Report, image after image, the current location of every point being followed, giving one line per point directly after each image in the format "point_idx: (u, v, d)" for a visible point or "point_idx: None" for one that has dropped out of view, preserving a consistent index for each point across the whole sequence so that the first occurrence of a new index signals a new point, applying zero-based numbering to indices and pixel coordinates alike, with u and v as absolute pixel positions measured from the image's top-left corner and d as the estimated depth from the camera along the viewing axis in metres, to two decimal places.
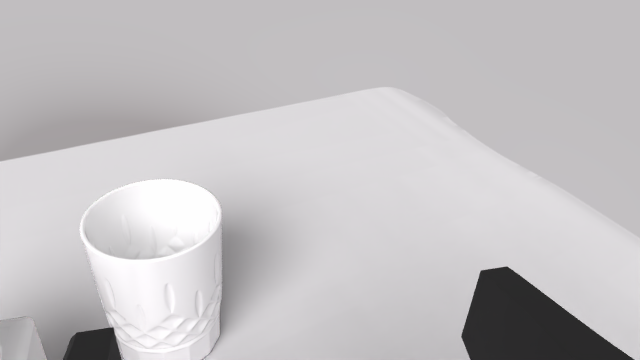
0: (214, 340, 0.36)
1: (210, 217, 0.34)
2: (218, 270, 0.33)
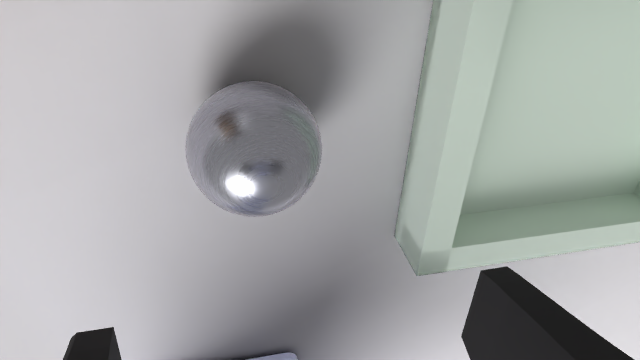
0: None
1: None
2: None
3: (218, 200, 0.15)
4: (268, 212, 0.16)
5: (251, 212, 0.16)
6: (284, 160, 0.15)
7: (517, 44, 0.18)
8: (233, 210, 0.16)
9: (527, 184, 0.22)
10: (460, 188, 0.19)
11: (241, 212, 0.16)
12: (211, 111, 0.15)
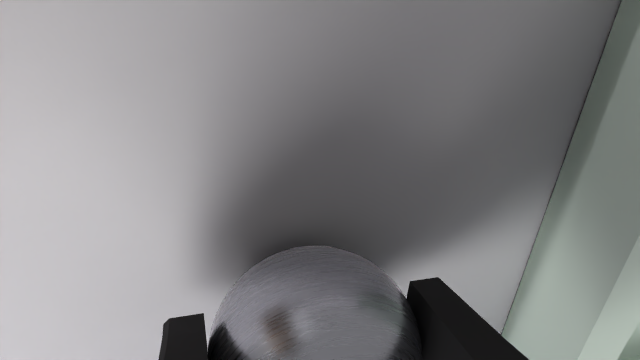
0: None
1: None
2: None
3: None
4: None
5: None
6: None
7: None
8: None
9: None
10: None
11: None
12: (253, 321, 0.09)
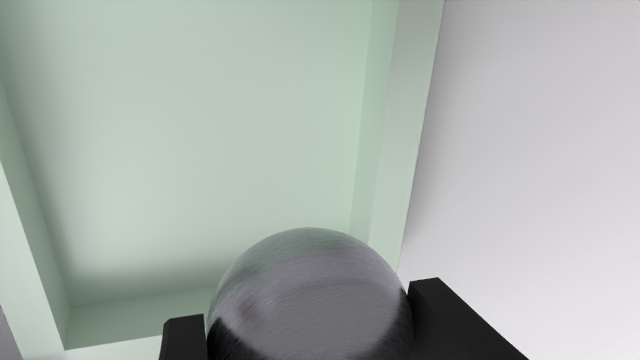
0: None
1: None
2: None
3: None
4: None
5: None
6: None
7: (87, 114, 0.15)
8: None
9: (189, 265, 0.19)
10: (34, 288, 0.15)
11: None
12: (256, 298, 0.09)
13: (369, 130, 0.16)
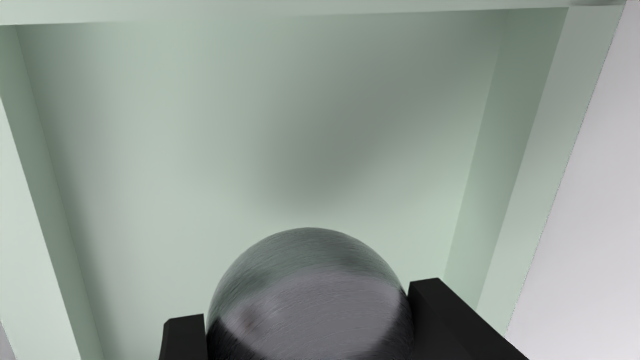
0: None
1: None
2: None
3: None
4: None
5: None
6: None
7: (151, 195, 0.12)
8: None
9: None
10: None
11: None
12: (255, 299, 0.09)
13: (480, 205, 0.14)
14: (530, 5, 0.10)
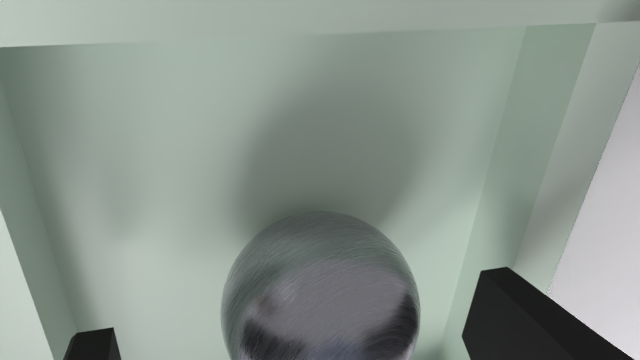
0: None
1: None
2: None
3: None
4: None
5: None
6: (398, 341, 0.10)
7: (143, 222, 0.11)
8: None
9: None
10: None
11: None
12: (278, 282, 0.10)
13: (494, 229, 0.13)
14: (554, 21, 0.09)
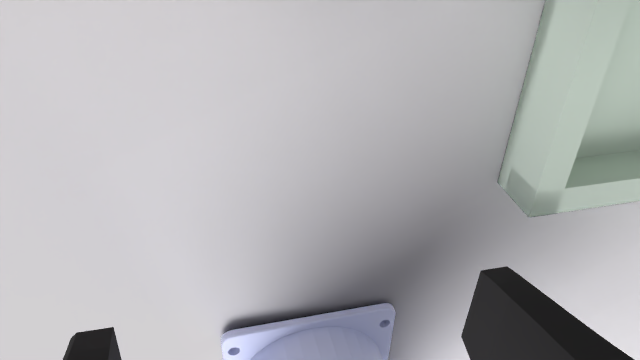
0: None
1: None
2: None
3: None
4: None
5: None
6: None
7: None
8: None
9: (631, 128, 0.22)
10: (581, 125, 0.19)
11: None
12: None
13: None
14: None
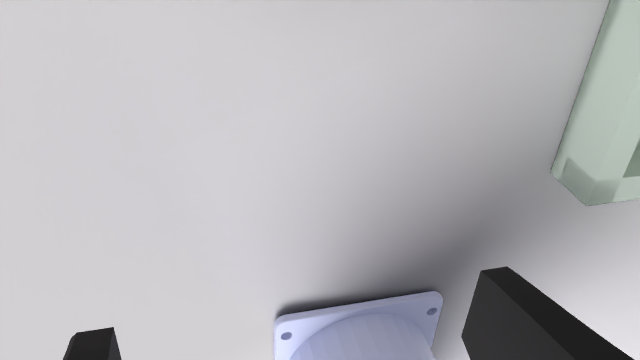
0: None
1: None
2: None
3: None
4: None
5: None
6: None
7: None
8: None
9: None
10: None
11: None
12: None
13: None
14: None
